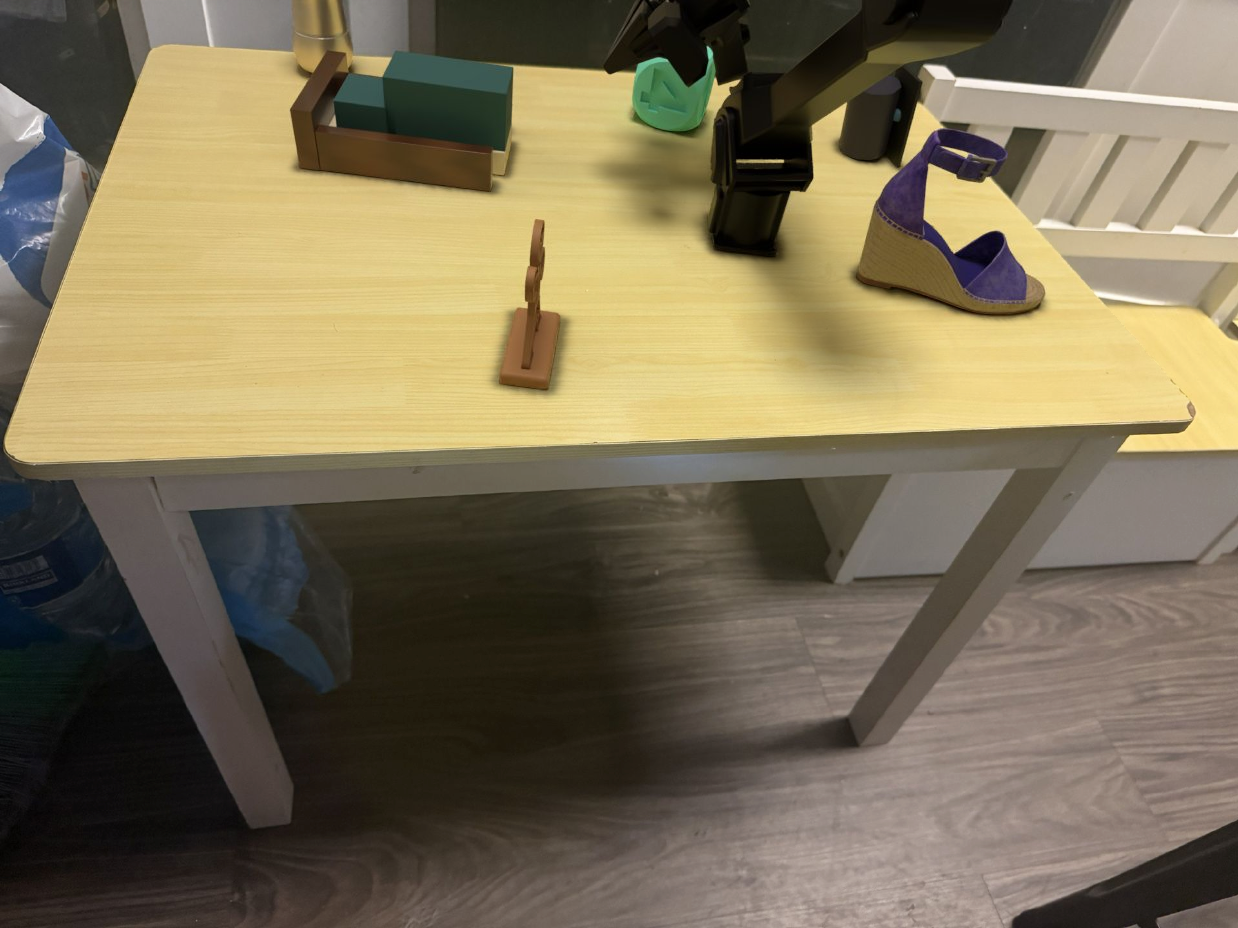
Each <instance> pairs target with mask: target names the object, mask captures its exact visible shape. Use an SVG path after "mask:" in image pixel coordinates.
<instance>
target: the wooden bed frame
mask: <svg viewBox="0 0 1238 928" xmlns="http://www.w3.org/2000/svg"><path fill="white" fill-rule="evenodd" d="M348 74H356V75H363V76H370V77H377V78H382V76H378V75H371V74H365V73H355V72H349V68H348V64H347V55H346V53H344V52H337V51H330V50H327V51H326V53H325V55H324V56H323V58H322V59H321V61H320V62H319V64H318V66H317V67H316V69H315V70H314V72H313V73H311V74H310V76H309V79H308V80H307V81H306V83H305V85H304V86H303V88H302V89H301V91H299V94H298V96H297V97H296V98H295V100H294V102H293V103H292V105H291V106H290V108H289V112H290V113H289V114H290V120H291V125H292V131H293V136H294V142H295V148H296V154H297V160H298V165H299V169H306V170H313V171H326V172H333V173H342V174H350V175H358V176H366V177H372V178H373V177H374V178H381V179H382V178H383V179H389V180H398V181H406V182H414V183H421V184H430V185H437V186H445V187H453V188H460V189H469V190H476V191H477V190H478V191H486V192H491V191H492V186H493V175H494V174H493V147H488V146H480V145H472V144H465V143H457V142H449V141H441V140H434V139H426V138H418V137H411V136H403V135H395V134H388V133H380V132H372V131H364V130H357V129H349V128H341V127H334V126H329V124H330V122H331V120H332V119H333V117H334V115H335V110H334V103H333V100H334V98H335V97H336V95H337V93H338V92H339V90H340V88H341V86H342V85H343V83H344V81H345V79H346V78H347V76H348Z"/></svg>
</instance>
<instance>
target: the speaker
mask: <svg viewBox="0 0 1238 928" xmlns="http://www.w3.org/2000/svg"><path fill="white" fill-rule="evenodd" d="M923 83H924V82H923V80H921V79H920V78H919V77H918V76H917V75H916V74H915V73H914V72H913V71H912V70H911V69H910V68H909V67H907V66H906V64H904V65H903V66H901V67H900V68H898V69H897V70H895V71H894V75H891V74H889V75H887V76H886V77H884V78H883V79H881V80H880V81H878V82H877V83H875V84H874V85H872V86H871V87H869V88H868V89H866V90H865V91H863V92H862V93H860V94H859V95H857V96H856V97H854V98H853V99H851V100H850V101H848V102H847V103H846V106H845V107H846V108H845V111H844V116H843V122H842V126H841V132H840V135H839V142H838V145H839V151H840V152H841V153H842V154H843V155H844V156H848V157H850V158H853V159H856V160H871V161H873V160H876V159H879V158H880V157H881V156H883V155H885V156H886V157H887V158H888V159H889V160H890V161H891V163H892V164H893V165H894V166H895V167H896V168H900V167H901V166H902V162H903V157H904V154H905V149H906V146H907V142H908V139H909V136H910V132H911V127H912V123H913V120H914V116H915V114H916V109H917V106H918V101H919V99H920V98H919V97H920V95H921V91H922V87H923Z"/></svg>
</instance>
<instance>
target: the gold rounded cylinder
mask: <svg viewBox="0 0 1238 928" xmlns="http://www.w3.org/2000/svg"><path fill="white" fill-rule="evenodd" d="M290 1H291V17H292V27H291V48H292V51H293V54H294V56H295V61H296V62H297V63H298V64H299V66H300V67H301V68H302V69H303V70H305V71H306V72H308V73H311V74H313V72H314V70H315V69H316V67H317V66H318V64H319V62H320V61H321V59H322V58H323V56H324V55H325V53H326V51H327V50H330V51H337V52H344V53H346V55H347V64H348V69H349V68H350V67H351V65H352V63H353V58H354V44H353V40H352V35H351V32H350V28H349V26H348V22H347V16H346V10H345V5H344V0H290Z"/></svg>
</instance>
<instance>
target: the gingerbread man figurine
mask: <svg viewBox="0 0 1238 928" xmlns="http://www.w3.org/2000/svg"><path fill="white" fill-rule="evenodd" d="M545 228H546V227H545V220H544V219H538V218H535V220H534V223H533V228H532V234H531V241H530V248H529V249H530V251H529V265H528V266H527V268H526V274H525V282H524V301H525V302H526V303H527V307H520V306H519V307H516V308H515V310H514V314H513V318H512V323H511V327H510V331H509V334H508V339H507V342H506V347H505V351H504V355H503V359H502V363H501V366H500V372H499V383H500V384H502V385H509V386H516V387H522V388H532V389H538V390H547V389H549V385H550V380H551V379H550V378H551V375H552V374H551V373H552V368H553V362H554V357H555V352H556V347H557V340H558V335H559V330H560V324H561V315H560V313H558V312H556V311H555V312H554V311H549V310H541V283H542V282H541V281H543V279H544V272H545V263H546V262H545V260H546V247H545V246H544V241H545Z"/></svg>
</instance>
